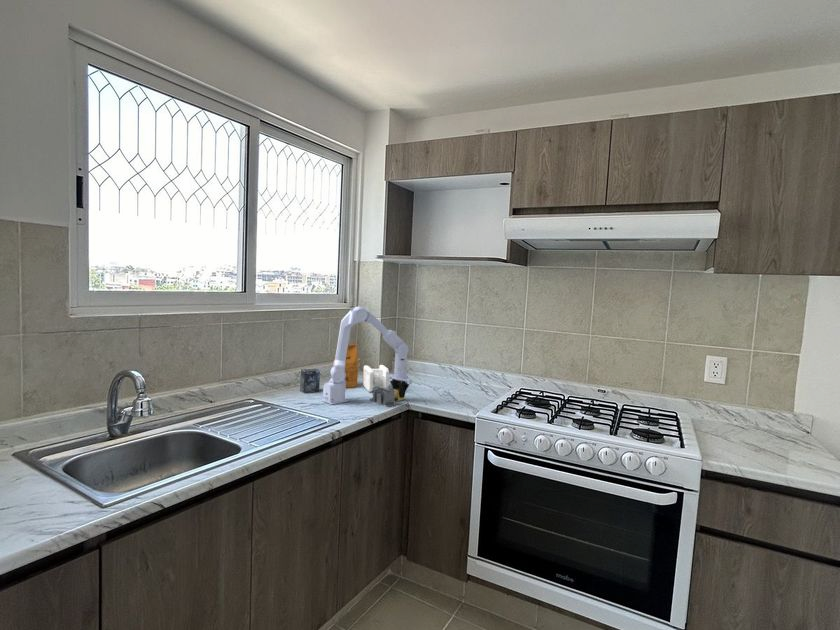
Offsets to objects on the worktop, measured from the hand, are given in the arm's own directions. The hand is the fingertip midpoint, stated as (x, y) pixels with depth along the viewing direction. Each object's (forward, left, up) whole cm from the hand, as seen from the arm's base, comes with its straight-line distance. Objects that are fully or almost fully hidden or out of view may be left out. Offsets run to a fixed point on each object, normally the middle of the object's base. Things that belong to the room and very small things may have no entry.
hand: (399, 396), depth 209 cm
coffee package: (-6, +36, -2) cm, 37 cm away
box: (-26, +36, -2) cm, 44 cm away
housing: (-9, 0, -2) cm, 10 cm away
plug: (-5, 0, -1) cm, 5 cm away
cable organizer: (+3, +22, -2) cm, 22 cm away
